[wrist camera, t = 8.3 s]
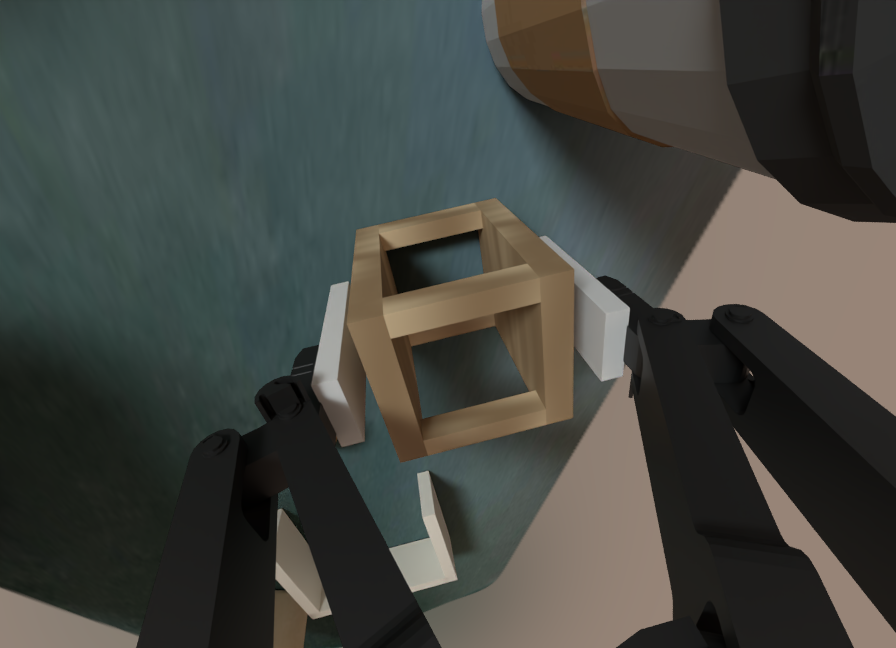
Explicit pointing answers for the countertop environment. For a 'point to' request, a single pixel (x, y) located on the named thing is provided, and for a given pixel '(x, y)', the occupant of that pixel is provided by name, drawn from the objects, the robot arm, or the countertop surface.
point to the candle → (288, 621)
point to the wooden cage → (465, 325)
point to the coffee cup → (724, 84)
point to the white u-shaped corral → (415, 560)
